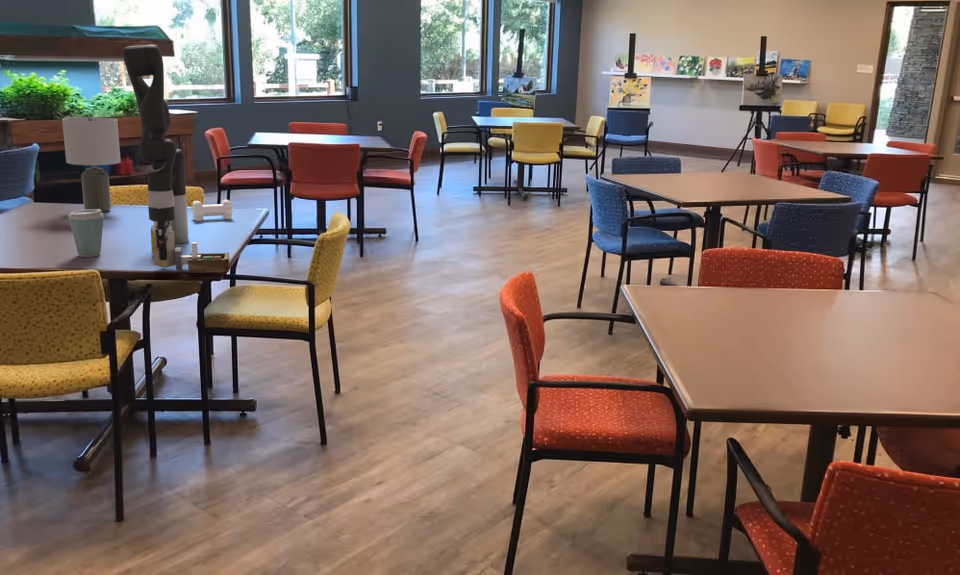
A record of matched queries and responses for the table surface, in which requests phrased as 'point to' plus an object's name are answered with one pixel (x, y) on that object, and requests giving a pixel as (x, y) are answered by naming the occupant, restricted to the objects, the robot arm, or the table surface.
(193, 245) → the grey blocky piece
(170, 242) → the box
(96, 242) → the disposable coffee cup
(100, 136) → the lamp
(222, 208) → the dog bone
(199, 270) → the brown wooden open box
